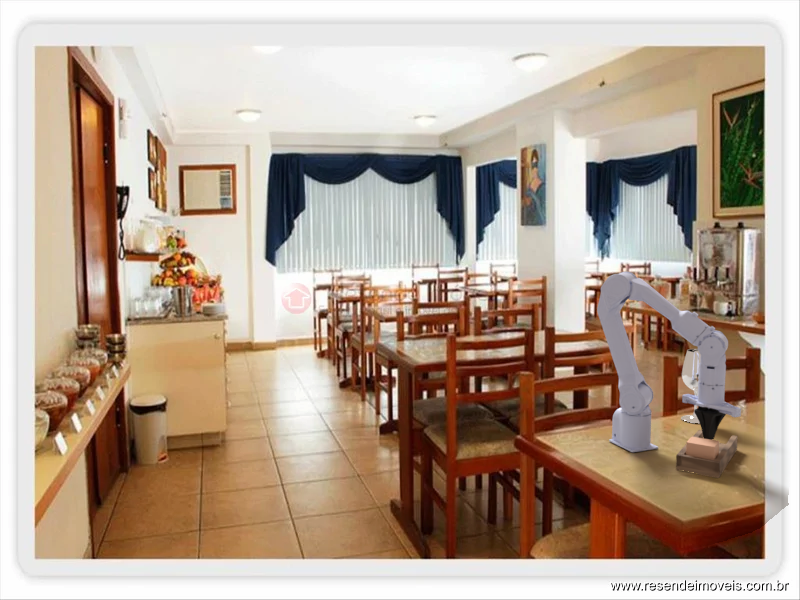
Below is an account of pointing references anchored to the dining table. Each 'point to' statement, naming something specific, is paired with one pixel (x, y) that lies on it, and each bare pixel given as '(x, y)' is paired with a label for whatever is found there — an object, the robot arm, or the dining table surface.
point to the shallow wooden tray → (707, 465)
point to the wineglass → (691, 378)
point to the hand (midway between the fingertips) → (708, 438)
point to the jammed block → (702, 448)
